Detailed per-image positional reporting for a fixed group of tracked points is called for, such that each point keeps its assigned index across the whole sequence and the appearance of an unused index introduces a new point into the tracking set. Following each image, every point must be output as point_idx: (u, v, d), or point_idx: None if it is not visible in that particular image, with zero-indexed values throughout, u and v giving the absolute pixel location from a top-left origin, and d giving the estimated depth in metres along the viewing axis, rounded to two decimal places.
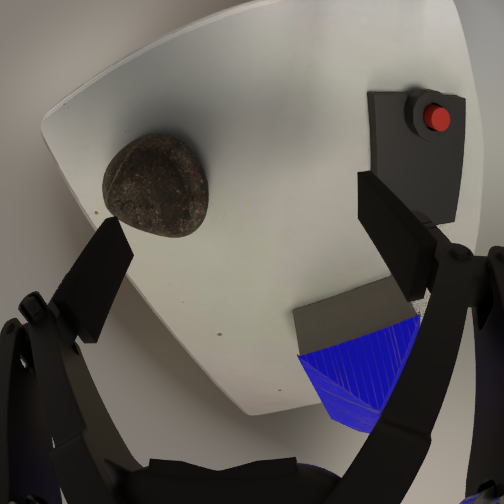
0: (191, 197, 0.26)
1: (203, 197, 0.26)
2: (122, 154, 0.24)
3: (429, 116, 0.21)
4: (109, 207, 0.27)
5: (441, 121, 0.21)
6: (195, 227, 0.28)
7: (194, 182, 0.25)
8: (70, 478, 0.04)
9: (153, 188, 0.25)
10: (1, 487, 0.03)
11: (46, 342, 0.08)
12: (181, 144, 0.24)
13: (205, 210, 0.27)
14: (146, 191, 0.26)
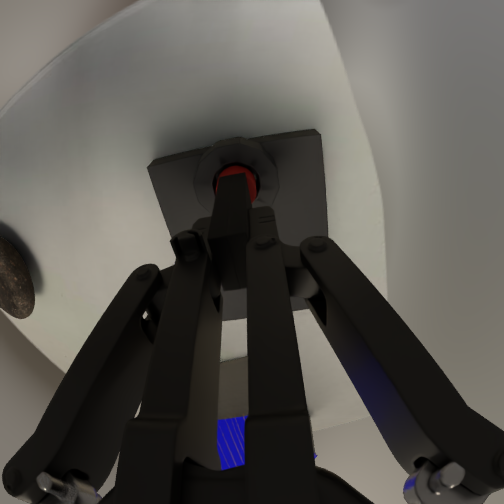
0: (11, 293, 0.22)
1: (21, 292, 0.22)
2: None
3: None
4: None
5: None
6: (26, 314, 0.24)
7: (10, 281, 0.21)
8: (135, 463, 0.04)
9: None
10: (43, 453, 0.05)
11: (187, 292, 0.09)
12: None
13: (28, 301, 0.23)
14: None
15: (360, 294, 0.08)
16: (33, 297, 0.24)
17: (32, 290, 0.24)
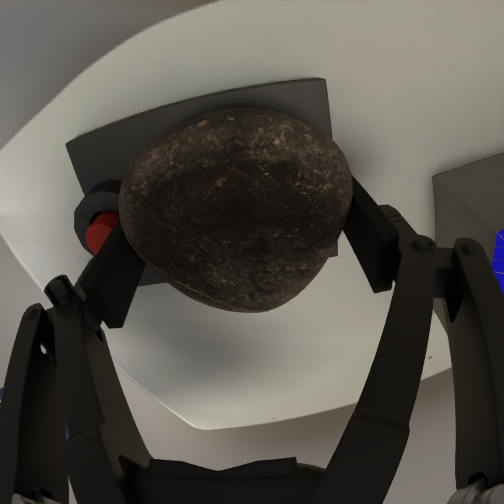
0: (236, 151, 0.10)
1: (245, 120, 0.10)
2: None
3: None
4: (266, 308, 0.16)
5: None
6: (328, 150, 0.10)
7: (199, 140, 0.10)
8: (81, 472, 0.04)
9: (218, 232, 0.12)
10: (7, 477, 0.04)
11: (70, 328, 0.08)
12: (130, 166, 0.11)
13: (285, 118, 0.10)
14: (226, 247, 0.13)
15: (493, 302, 0.06)
16: None
17: None
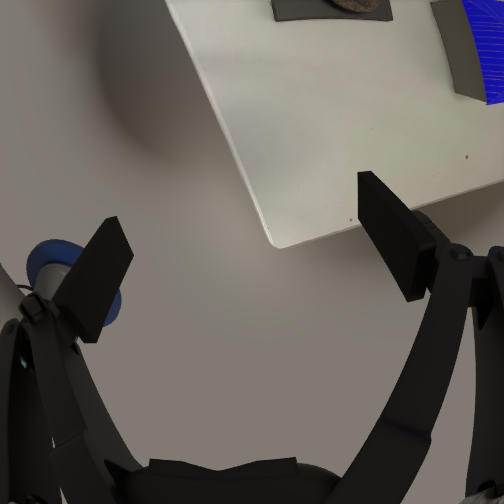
0: None
1: None
2: None
3: None
4: (365, 6, 0.23)
5: None
6: None
7: None
8: (70, 478, 0.04)
9: None
10: (1, 487, 0.03)
11: (46, 342, 0.08)
12: None
13: None
14: None
15: None
16: None
17: None
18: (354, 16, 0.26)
